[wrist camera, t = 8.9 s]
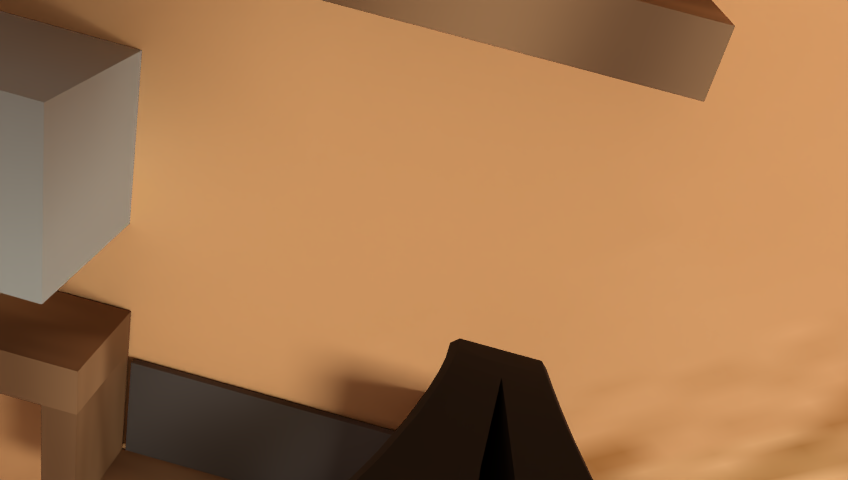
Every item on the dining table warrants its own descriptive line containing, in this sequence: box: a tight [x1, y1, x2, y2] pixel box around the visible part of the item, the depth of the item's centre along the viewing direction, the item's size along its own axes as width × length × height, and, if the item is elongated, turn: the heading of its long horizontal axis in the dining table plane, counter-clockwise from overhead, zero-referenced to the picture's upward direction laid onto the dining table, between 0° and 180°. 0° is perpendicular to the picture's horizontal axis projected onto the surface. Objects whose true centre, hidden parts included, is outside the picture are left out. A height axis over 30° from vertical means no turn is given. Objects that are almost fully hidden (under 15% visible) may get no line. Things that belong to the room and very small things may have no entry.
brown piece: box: [0, 0, 735, 480], centre depth 21 cm, size 17×19×4 cm
